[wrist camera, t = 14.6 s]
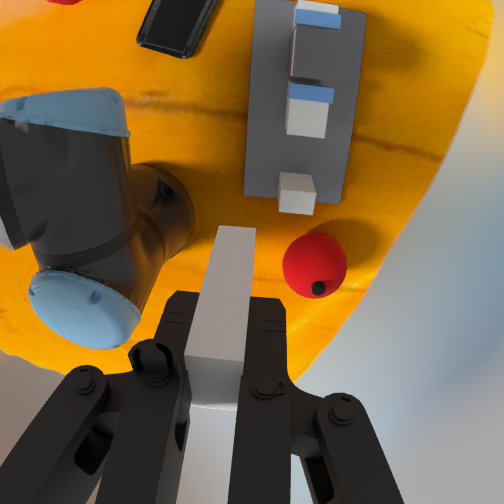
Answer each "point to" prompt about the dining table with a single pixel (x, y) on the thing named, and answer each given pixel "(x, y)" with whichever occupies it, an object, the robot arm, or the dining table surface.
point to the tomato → (65, 2)
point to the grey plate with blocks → (299, 109)
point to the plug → (319, 54)
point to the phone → (175, 26)
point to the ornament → (314, 265)
